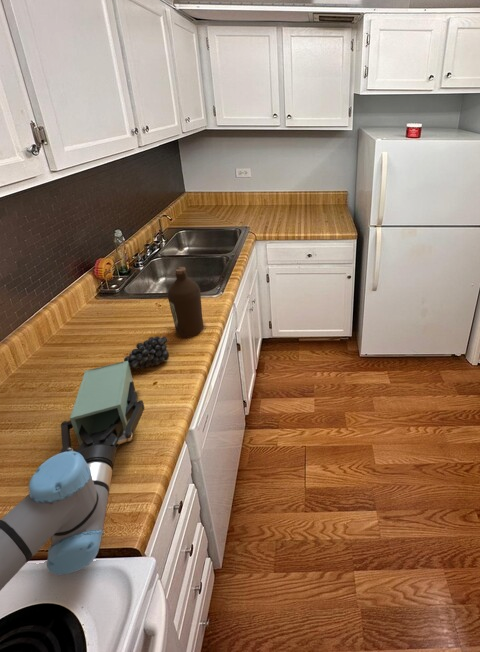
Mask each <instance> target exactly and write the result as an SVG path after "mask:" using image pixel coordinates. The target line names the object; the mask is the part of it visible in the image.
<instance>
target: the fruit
mask: <svg viewBox="0 0 480 652" xmlns="http://www.w3.org/2000/svg"><path fill="white" fill-rule="evenodd" d="M167 343H168V338H167V336H166V335H164V336H161V337H160V336H159V335H158V336H154V337H153V336H149V337H148V339H147V340H144V341H143V342H138V343H137V344H136V346H135V347H136V348H133V349H132V350H131V352H130V353H129V355H127V356H125V357H124V358H123V362H125V361H128V363H129V367H130V371H131V372H132V370H133V369H140V370H143V369H144V368H145V367H146V368H148V367H150V366H155V365H156V366H158V365H160V363H164V362H166V361H168V360H169V358H170V353H169V351H168V348H171V345H167Z"/></svg>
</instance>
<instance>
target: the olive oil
mask: <svg viewBox="0 0 480 652" xmlns="http://www.w3.org/2000/svg"><path fill="white" fill-rule="evenodd" d="M174 271H175V277H176V279H175V280H174V282H172V284H171V285H170V286H169V288H168V291H167V299H168V300H167V301H168V304H169V309H170V312H171V315H172V320H173V324H174V329H175V333H176V335H177V336H178V337H180V338H191V337H195V336H197V335H199V334H200V333H202V331H203V329H204V320H203V307H202V296H201V288H200V286H199V285H198V284H199V283H197V282H196V281H195V280H193V279H191V278H189V277H188V273H187V271H186V267H185V266H179V267H176V268H175V270H174Z"/></svg>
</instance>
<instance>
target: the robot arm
mask: <svg viewBox="0 0 480 652" xmlns="http://www.w3.org/2000/svg"><path fill="white" fill-rule="evenodd" d="M133 382H134V381H133ZM133 382H130V386H129V392H128V399H127V403H128V406H127V407H126V413H125V416H126V420H127V422H128V420H129V419H130V420H129V422H128V424H127V426H126V429H125V431H123V434H122V436H121V437H119V438H118V436H119V434H120V431H121V430H122V428H123V425H122V421H121V419H120V416H119V417H118V418H117V420H116V421H115V422H114V423H113V424H111V425H110V426H109V428H108V429H106V430H103V431H101V432H96V433H92V434H91V435H90V436H89V434H88V433H87V431H86V430H85V429H84V427H83V426H82V424H81V428H80V431H79V435H80V438H81V440H82V442H83V443H82V444H81V445H79V446H78V447H77V448H76V449H75V450H74V449H73V447H72V438H71V437H72V436H71V429H73V426H72V423H71V420H70V419H69V420H68V421H67V420H64V421H63V422H61V423H60V432H61V433H60V434H61V445H62V447H61V450H60V453H57V454H54V455H53V456H51V457H49V458H48V459H46V460H45V461H43V463H41V464H40V465H39V466H38V468H37V469H36V470H35V472H34V474H33V475H32V476H31V477H30V479H29V483H28V495H26V496H25V497H24V498H23V499H21V501H19V502H18V503H17V504H16V505H15V506H14V507H13V508H11V510H9V511H8V512H7V513H6V514H5V515H4V516H3V517H1V518H0V591H1V590H2V589H4V587H5V586H6V585H8V583H9V582H10V581H11V580H12V579H13V578H14V577H15V576H16V575H17V574H18V572H20V570H21V569H22V568H24V566H25V565H26V564H27V563H28V562H29V561H30V560H31V559H32V558H33V557H34V556H35V555H36V554H37V553H38V552H39V551H40V550H41V549H42V548H43V547H44V546H45V544H46V543H48V541H50V539H51V542H50V543H51V544H50V546H49V547H48V549H47V550H48V551H47V553H48V554H47V560H46V568H47V570H48V571H49V572H50V573H51V574H54V575H61V576H62V575H69V574H73V573H75V572H77V571H80V570H82V569H84V568H86V567H87V566H88V565H89V564H91V563H92V562H93V561H94V560H95V559H96V557H97V555H98V553H99V550H100V546H101V542H102V538H103V535H104V527H105V526H104V525H105V520H106V513H107V508H108V501H109V495H110V488H111V483H112V478H113V477H112V475H113V470H114V465H115V461H116V454H117V453H116V452H117V449H118V448H119V446H120V445H121V444H125V443H127V444H128V445H131V444H132V443H133V442H134V434H135V432H136V429H137V427H138V425H139V422H140V420H141V418H142V415H143V413H144V411H145V405H144V404H145V403H144V401H143V400H142V399H141V400H138V398H139V397H138V393H137V391H136V392H135V390H136V387H134V386H135V383H133Z"/></svg>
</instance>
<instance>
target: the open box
mask: <svg viewBox="0 0 480 652" xmlns="http://www.w3.org/2000/svg"><path fill="white" fill-rule="evenodd" d="M83 373H84V374H83V375H82V376H83V377H82V379H81V383H80V385H79V389H78V392H77V395H76V398H75V401H74V404H73V407H72V410H71V413H70V416H69V421H70V420H71V423H72V426H73V428H72V429H73V431H74V434H75V437H76V440H77V443H78V445H79V446H80V445H81V444H82V443H83V442H82V440H81V438H80V435H79V431H80V428H81V424H82V426H83V427H84V429H85V430H86V431H87V433H88V434H89V436H90V435H91V434H92V433H96V432H101V431H103V430H106V429H108V428H109V426H110V425H111V424H113V423H114V422H115V421H116V420H117V418H118V417H119V416H120V419H121V421H122V425H123V428H122V430H121V431H120V434H119V436H118V438H119V437H121V436H122V434H123V431H125V429H126V426H127V424H128V422H129V420H130V419H129V420H128V422H127V420H126V416H125V413H126V407H127V406H128V403H127V399H128V392H129V386H130V382H133V383H134V379H133V374H132V370H131V371H130V367H129V363H128V361H125V362H124V361H120V362H117V363H113V364H108V365H104V366H100V367H95V368H91V369H86V370H84V372H83ZM134 384H135V383H134ZM134 387H135V385H134ZM135 388H136V387H135ZM135 392H137V391H136V389H135Z"/></svg>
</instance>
